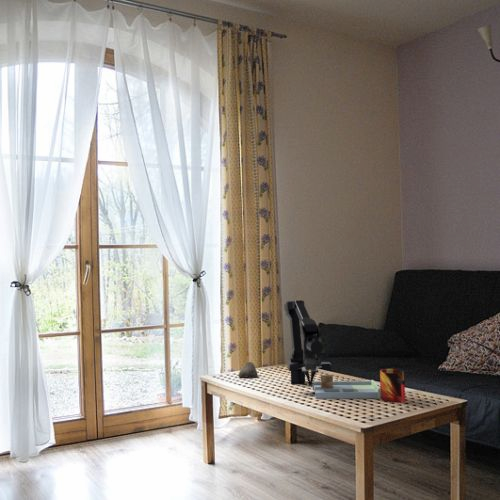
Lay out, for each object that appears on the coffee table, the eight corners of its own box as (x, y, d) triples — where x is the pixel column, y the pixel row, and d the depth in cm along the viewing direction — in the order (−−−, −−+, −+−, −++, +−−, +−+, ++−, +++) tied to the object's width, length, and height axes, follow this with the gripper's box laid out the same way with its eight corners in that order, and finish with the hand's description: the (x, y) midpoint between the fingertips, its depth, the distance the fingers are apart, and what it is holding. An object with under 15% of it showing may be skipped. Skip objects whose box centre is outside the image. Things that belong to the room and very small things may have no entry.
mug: (404, 405, 241) (403, 375, 241) (375, 399, 251) (375, 371, 251) (417, 401, 247) (416, 372, 247) (389, 395, 258) (388, 368, 258)
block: (321, 388, 265) (321, 377, 265) (320, 385, 270) (320, 374, 270) (333, 388, 265) (332, 377, 265) (331, 385, 270) (331, 374, 270)
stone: (249, 386, 298) (262, 371, 301) (237, 374, 298) (250, 359, 301) (246, 385, 308) (259, 370, 310) (234, 373, 308) (247, 359, 310)
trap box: (315, 398, 255) (315, 389, 255) (312, 389, 273) (312, 380, 273) (380, 398, 253) (380, 388, 253) (373, 388, 272) (373, 379, 272)
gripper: (289, 353, 260) (289, 389, 260) (332, 353, 259) (332, 389, 259) (288, 349, 271) (289, 384, 271) (329, 349, 270) (330, 383, 270)
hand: (310, 385), depth 268 cm, fingers closed
